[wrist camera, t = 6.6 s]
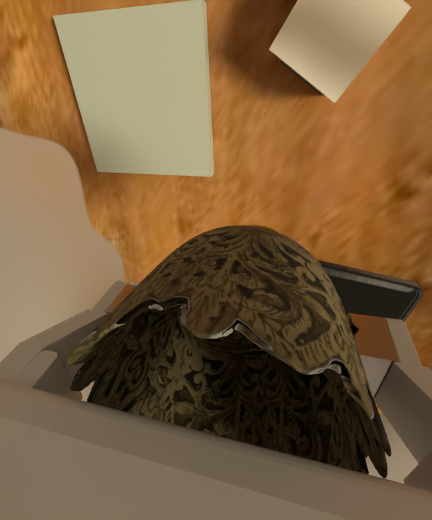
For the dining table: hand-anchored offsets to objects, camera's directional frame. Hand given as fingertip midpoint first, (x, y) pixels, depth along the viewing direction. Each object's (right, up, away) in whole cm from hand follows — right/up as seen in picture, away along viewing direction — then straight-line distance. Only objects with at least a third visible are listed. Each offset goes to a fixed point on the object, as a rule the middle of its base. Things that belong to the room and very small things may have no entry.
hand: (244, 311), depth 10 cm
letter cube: (+7, +17, +9) cm, 21 cm away
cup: (+1, +2, +3) cm, 4 cm away
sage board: (-7, +16, +14) cm, 22 cm away
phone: (+12, -2, +21) cm, 25 cm away
